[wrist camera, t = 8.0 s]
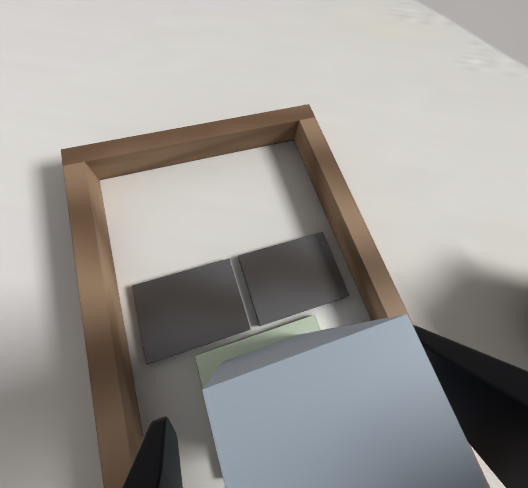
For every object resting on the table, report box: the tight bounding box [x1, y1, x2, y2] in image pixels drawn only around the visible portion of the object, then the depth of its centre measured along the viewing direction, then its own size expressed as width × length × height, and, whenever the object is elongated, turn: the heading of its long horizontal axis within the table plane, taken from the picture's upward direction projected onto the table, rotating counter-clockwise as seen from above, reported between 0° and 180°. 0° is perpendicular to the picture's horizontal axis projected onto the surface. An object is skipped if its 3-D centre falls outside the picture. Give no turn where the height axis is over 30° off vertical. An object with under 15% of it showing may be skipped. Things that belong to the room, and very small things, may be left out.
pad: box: [195, 315, 320, 388], centre depth 16 cm, size 6×7×1 cm
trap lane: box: [61, 104, 490, 488], centre depth 16 cm, size 26×16×2 cm, turn 18°
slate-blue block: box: [202, 314, 489, 488], centre depth 10 cm, size 4×4×11 cm
